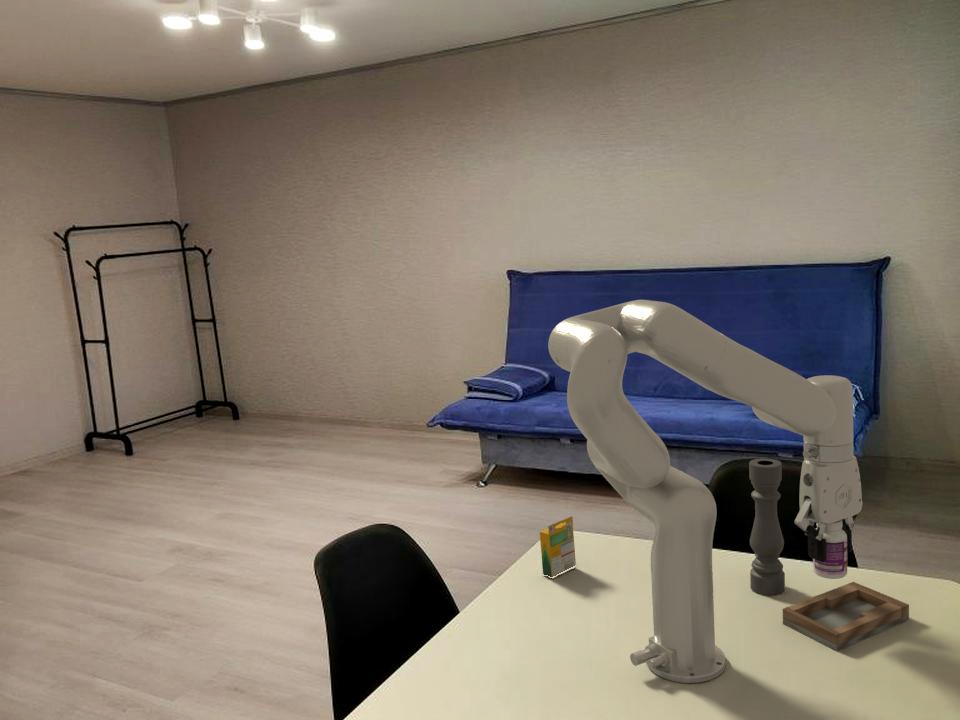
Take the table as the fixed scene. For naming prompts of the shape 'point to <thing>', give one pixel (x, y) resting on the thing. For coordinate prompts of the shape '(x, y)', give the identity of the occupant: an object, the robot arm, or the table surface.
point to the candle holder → (766, 528)
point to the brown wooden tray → (845, 615)
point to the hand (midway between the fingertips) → (830, 553)
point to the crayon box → (558, 547)
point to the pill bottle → (833, 553)
